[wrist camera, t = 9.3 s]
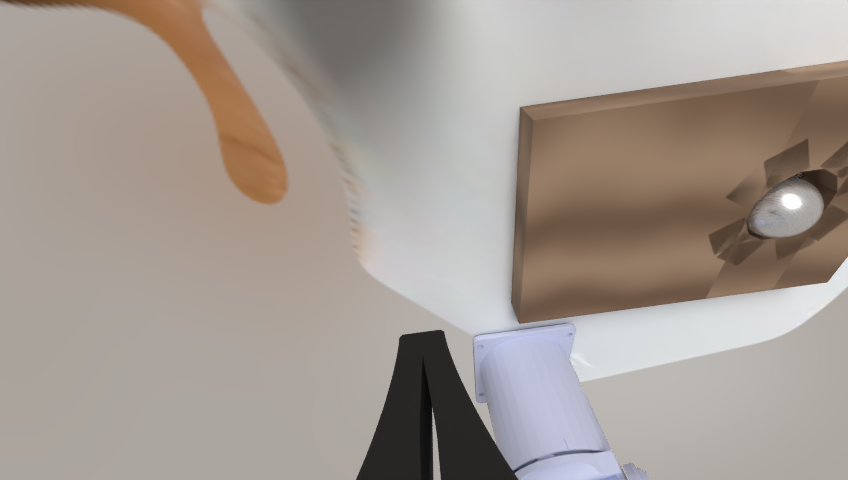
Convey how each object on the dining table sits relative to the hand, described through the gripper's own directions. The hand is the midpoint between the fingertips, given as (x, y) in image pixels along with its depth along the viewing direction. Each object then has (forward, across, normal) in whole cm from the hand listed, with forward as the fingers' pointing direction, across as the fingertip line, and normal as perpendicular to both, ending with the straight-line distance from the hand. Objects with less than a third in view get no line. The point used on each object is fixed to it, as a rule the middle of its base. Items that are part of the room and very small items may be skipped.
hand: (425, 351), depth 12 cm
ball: (+9, -20, +3) cm, 22 cm away
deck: (+10, -16, +3) cm, 20 cm away
